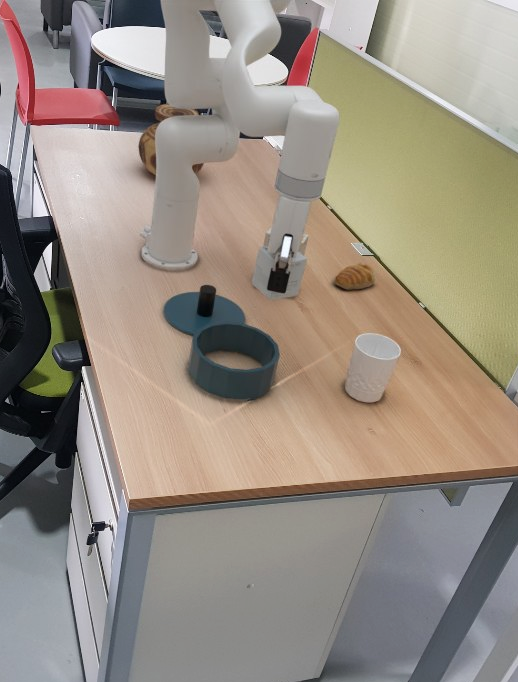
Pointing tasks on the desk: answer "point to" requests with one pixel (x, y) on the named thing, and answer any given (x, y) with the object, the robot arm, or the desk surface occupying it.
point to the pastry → (355, 277)
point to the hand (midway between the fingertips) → (278, 278)
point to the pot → (229, 379)
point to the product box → (264, 268)
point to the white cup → (371, 366)
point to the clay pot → (148, 136)
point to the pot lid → (201, 310)
